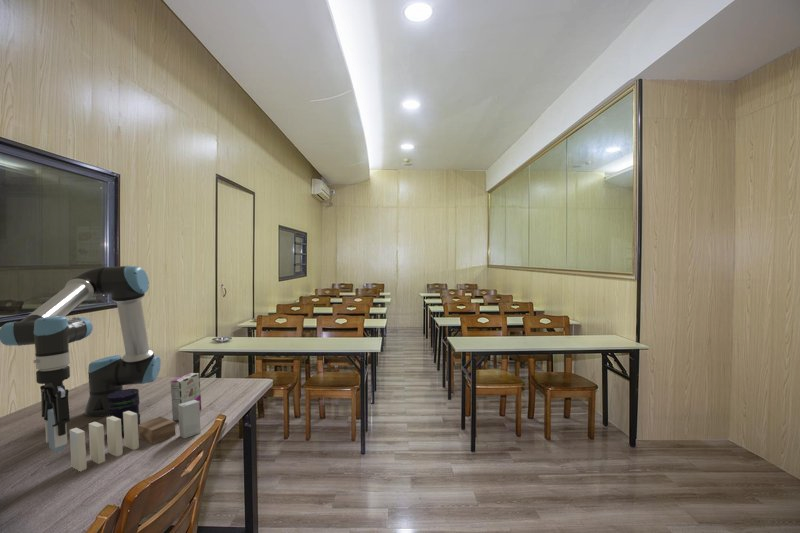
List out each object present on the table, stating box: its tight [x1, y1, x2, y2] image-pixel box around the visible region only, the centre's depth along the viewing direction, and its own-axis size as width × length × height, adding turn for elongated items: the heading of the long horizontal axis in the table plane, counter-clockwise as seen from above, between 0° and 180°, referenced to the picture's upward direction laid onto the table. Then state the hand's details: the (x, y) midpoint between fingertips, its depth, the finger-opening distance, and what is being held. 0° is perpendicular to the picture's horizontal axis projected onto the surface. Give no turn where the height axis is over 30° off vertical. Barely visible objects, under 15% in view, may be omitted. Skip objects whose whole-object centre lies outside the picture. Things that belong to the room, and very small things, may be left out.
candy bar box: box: [170, 372, 202, 422], centre depth 159 cm, size 11×5×16 cm, turn 168°
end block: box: [138, 416, 176, 445], centre depth 140 cm, size 10×8×5 cm
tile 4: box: [123, 411, 140, 451], centre depth 132 cm, size 6×2×12 cm, turn 60°
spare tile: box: [47, 408, 66, 453], centre depth 115 cm, size 6×2×12 cm, turn 60°
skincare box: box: [178, 400, 201, 439], centre depth 140 cm, size 6×4×12 cm
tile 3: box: [105, 416, 124, 457], centre depth 128 cm, size 6×2×12 cm, turn 60°
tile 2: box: [88, 421, 106, 465], centre depth 124 cm, size 6×2×12 cm, turn 60°
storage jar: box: [108, 388, 141, 437], centre depth 145 cm, size 10×10×15 cm
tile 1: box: [69, 427, 87, 472], centre depth 120 cm, size 6×2×12 cm, turn 60°
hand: (56, 442), depth 115 cm, fingers closed on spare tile, 6 cm apart
